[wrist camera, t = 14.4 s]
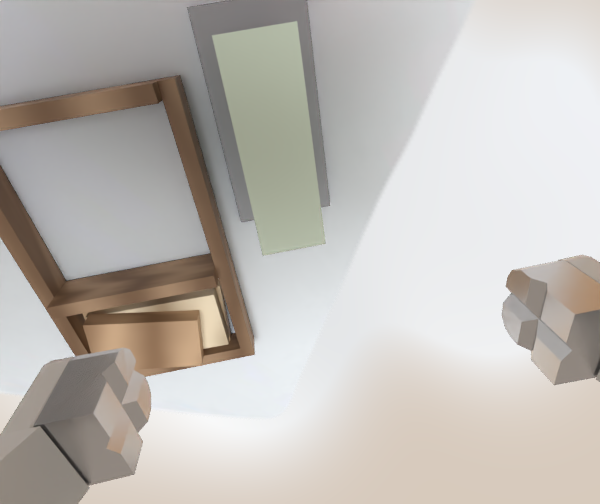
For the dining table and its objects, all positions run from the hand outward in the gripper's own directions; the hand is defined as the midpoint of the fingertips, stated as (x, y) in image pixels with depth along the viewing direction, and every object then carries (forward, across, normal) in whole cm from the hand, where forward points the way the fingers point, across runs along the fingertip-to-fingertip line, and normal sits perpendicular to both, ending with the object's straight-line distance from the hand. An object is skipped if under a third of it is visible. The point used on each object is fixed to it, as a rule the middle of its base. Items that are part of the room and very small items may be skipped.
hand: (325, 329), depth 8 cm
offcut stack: (+25, +14, +17) cm, 34 cm away
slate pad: (+25, 0, 0) cm, 25 cm away
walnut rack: (+25, +14, +9) cm, 30 cm away
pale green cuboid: (+24, 0, 0) cm, 24 cm away
